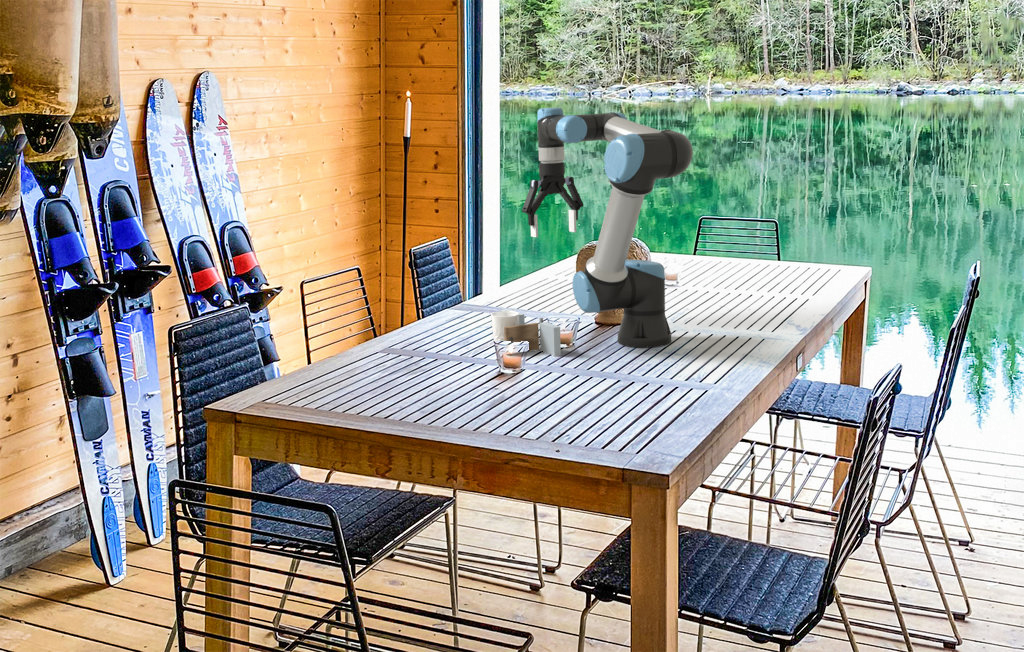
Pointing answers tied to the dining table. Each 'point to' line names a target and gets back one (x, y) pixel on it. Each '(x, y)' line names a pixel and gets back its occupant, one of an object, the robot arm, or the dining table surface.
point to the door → (523, 334)
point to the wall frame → (546, 335)
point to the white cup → (503, 323)
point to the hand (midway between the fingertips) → (553, 234)
